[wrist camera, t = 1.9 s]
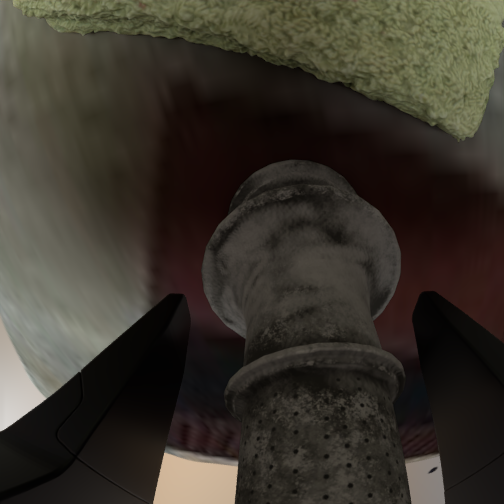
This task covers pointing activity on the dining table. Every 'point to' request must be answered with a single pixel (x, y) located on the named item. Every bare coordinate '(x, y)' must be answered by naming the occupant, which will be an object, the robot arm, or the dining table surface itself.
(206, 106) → the dining table surface
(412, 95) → the washcloth
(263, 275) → the salt shaker
